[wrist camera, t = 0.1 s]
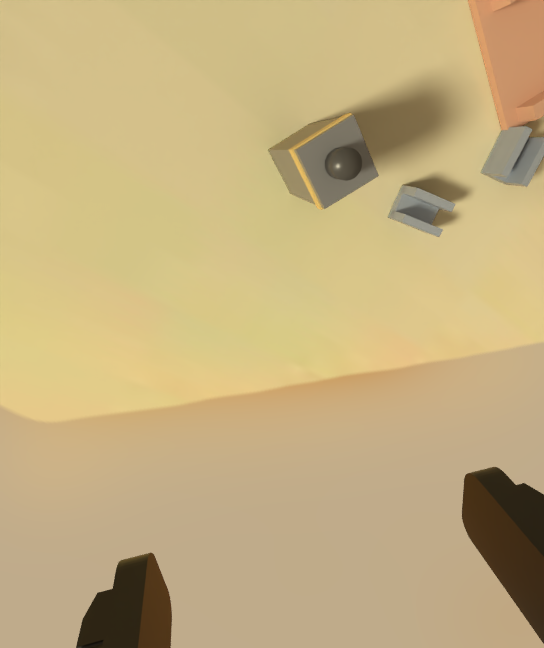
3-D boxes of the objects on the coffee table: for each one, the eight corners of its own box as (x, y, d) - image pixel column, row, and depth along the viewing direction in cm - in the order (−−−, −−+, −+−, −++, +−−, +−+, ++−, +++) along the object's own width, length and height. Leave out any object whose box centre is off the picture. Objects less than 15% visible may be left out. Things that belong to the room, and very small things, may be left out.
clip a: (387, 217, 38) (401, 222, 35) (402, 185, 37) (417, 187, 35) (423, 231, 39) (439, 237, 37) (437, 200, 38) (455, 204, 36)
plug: (266, 149, 34) (300, 149, 23) (310, 121, 34) (364, 109, 23) (289, 195, 36) (331, 214, 25) (331, 169, 35) (391, 178, 25)
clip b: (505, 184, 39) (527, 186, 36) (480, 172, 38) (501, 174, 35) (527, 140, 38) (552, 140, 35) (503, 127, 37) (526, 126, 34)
